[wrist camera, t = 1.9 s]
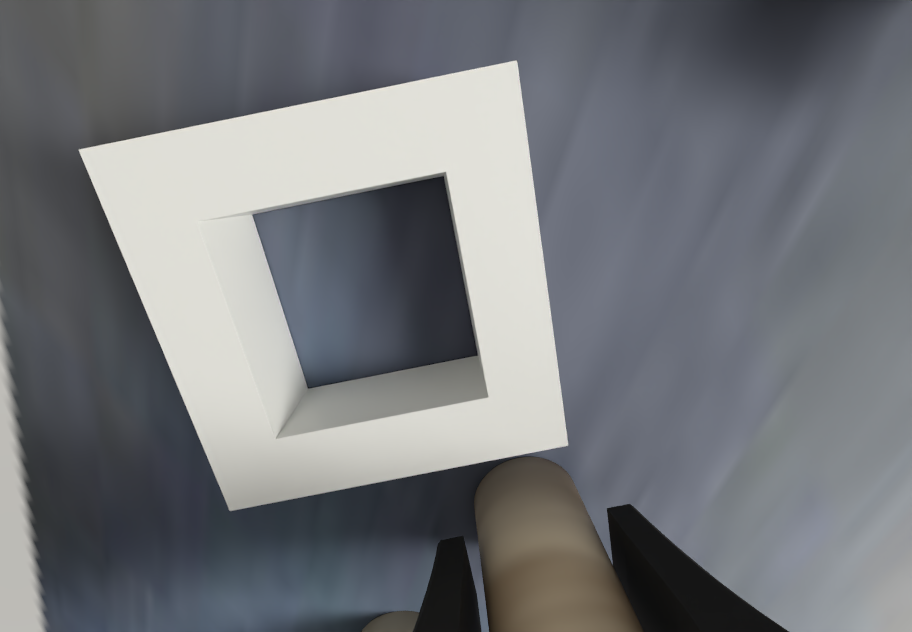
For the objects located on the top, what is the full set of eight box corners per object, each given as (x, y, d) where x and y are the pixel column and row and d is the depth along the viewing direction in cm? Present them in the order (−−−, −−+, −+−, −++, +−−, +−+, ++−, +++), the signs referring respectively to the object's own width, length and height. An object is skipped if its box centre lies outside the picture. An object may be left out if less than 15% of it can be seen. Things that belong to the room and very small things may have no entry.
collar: (542, 395, 12) (568, 445, 10) (269, 448, 12) (229, 511, 10) (497, 91, 10) (516, 60, 8) (163, 159, 10) (78, 149, 8)
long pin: (581, 532, 14) (720, 859, 7) (483, 551, 14) (528, 894, 7) (570, 447, 13) (718, 731, 6) (465, 467, 13) (497, 771, 6)
